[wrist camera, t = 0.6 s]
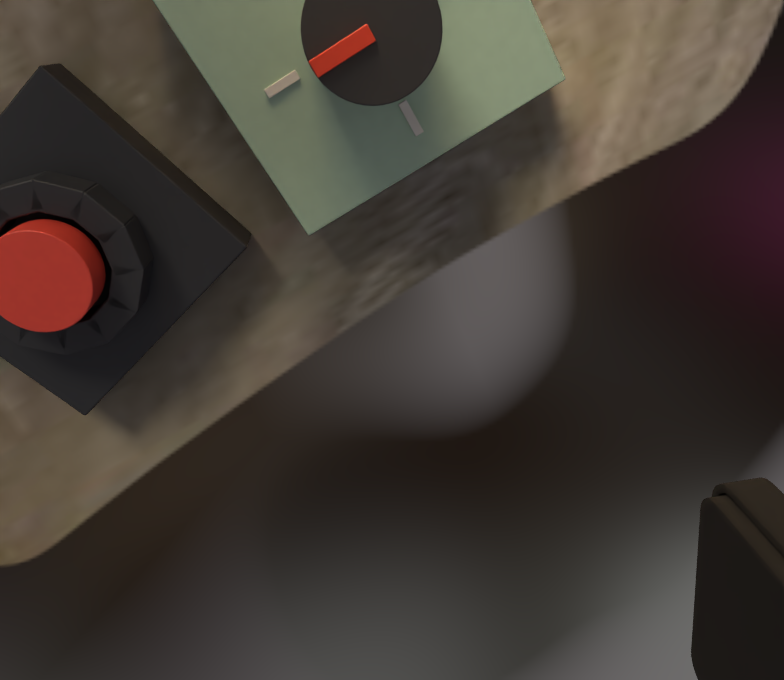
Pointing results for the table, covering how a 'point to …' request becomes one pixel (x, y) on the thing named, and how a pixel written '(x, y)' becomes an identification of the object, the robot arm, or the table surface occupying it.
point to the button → (48, 275)
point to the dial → (371, 46)
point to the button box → (105, 232)
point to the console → (349, 120)
